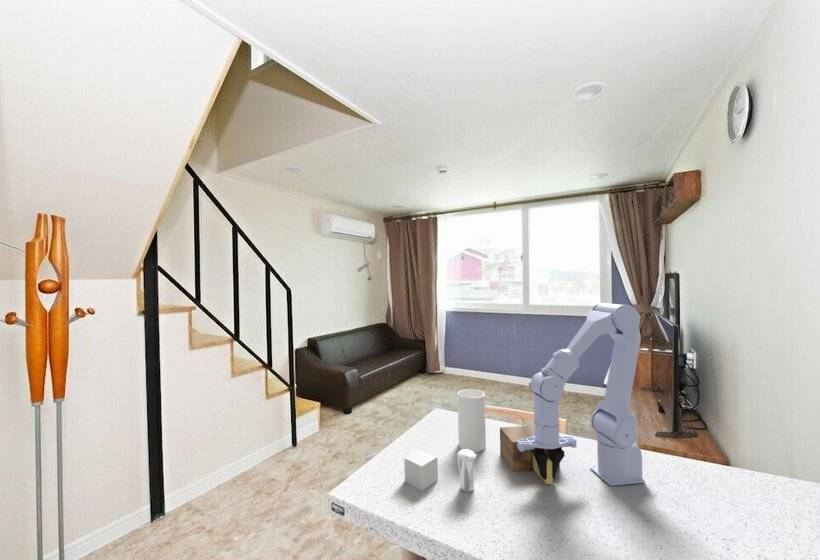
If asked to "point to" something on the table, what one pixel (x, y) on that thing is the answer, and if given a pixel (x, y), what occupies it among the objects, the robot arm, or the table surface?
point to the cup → (471, 420)
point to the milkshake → (466, 469)
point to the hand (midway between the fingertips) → (547, 476)
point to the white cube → (421, 469)
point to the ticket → (549, 469)
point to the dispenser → (510, 450)
